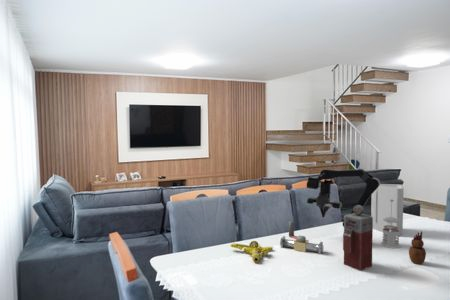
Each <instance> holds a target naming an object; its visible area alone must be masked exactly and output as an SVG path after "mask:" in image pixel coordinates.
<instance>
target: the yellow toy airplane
mask: <svg viewBox="0 0 450 300" xmlns="http://www.w3.org/2000/svg"><path fill="white" fill-rule="evenodd" d="M231 247H232V248H235V249H239V250H241V251H242V250H243V252H245V253H246V254H248V255H251V258H252V262H254V263H256V264H257V263H259V262H260V260H263V256H267V255H268V254H269V251H273V249H274V247H273V246H263V247H262V246H261V245H260V243H259V242H258V241H257V240H252V241H250V243H249V245H247V244H240V243H236V242H235V243H230V248H231Z"/></svg>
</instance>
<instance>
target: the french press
mask: <svg viewBox="0 0 450 300" xmlns="http://www.w3.org/2000/svg"><path fill="white" fill-rule="evenodd" d="M390 202H391V215H392V202H394V201H393V199H390ZM383 220H384V221H386V222H388V225H385V226H384V229H383V232H382V241H381V243H380V244H381V246H383V247H385V248H389V249H390V248H392V249H398V248H401V244H400V241H399V240H400V236H398V235H399V230H397V229H398V227H396V226H392V223H398V222H399V220H398V219H397V218H394V217H385V218H383ZM389 222H391V226H390V225H389ZM389 230H391V232H389Z"/></svg>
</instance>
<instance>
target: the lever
mask: <svg viewBox="0 0 450 300" xmlns="http://www.w3.org/2000/svg"><path fill="white" fill-rule="evenodd" d="M288 237H289V238H290V239H292V240H297V241H299V242H305V241H306V240H307V238H306V236H305V235H298V236H297V235H295V221H294V220H293V221H292V220H290V221H288Z"/></svg>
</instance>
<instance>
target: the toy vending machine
mask: <svg viewBox="0 0 450 300" xmlns="http://www.w3.org/2000/svg"><path fill="white" fill-rule="evenodd" d="M352 211H354V213H352V214H351V213H349V214H348V215H346V214H345V215H344V216H343V219H344V227H343V235H342V251H343V265H344V266H347V267H350V268H351V269H354V270H358V271H363V270H364V271H365V270H367V269H369V268H371V267H373V237H374V235H373V230H374V229H373V217H372V216H371V215H368V214H364V212H365V208H364V207H362V206H361V205H357V206H356V205H355V206H353V209H352Z"/></svg>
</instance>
